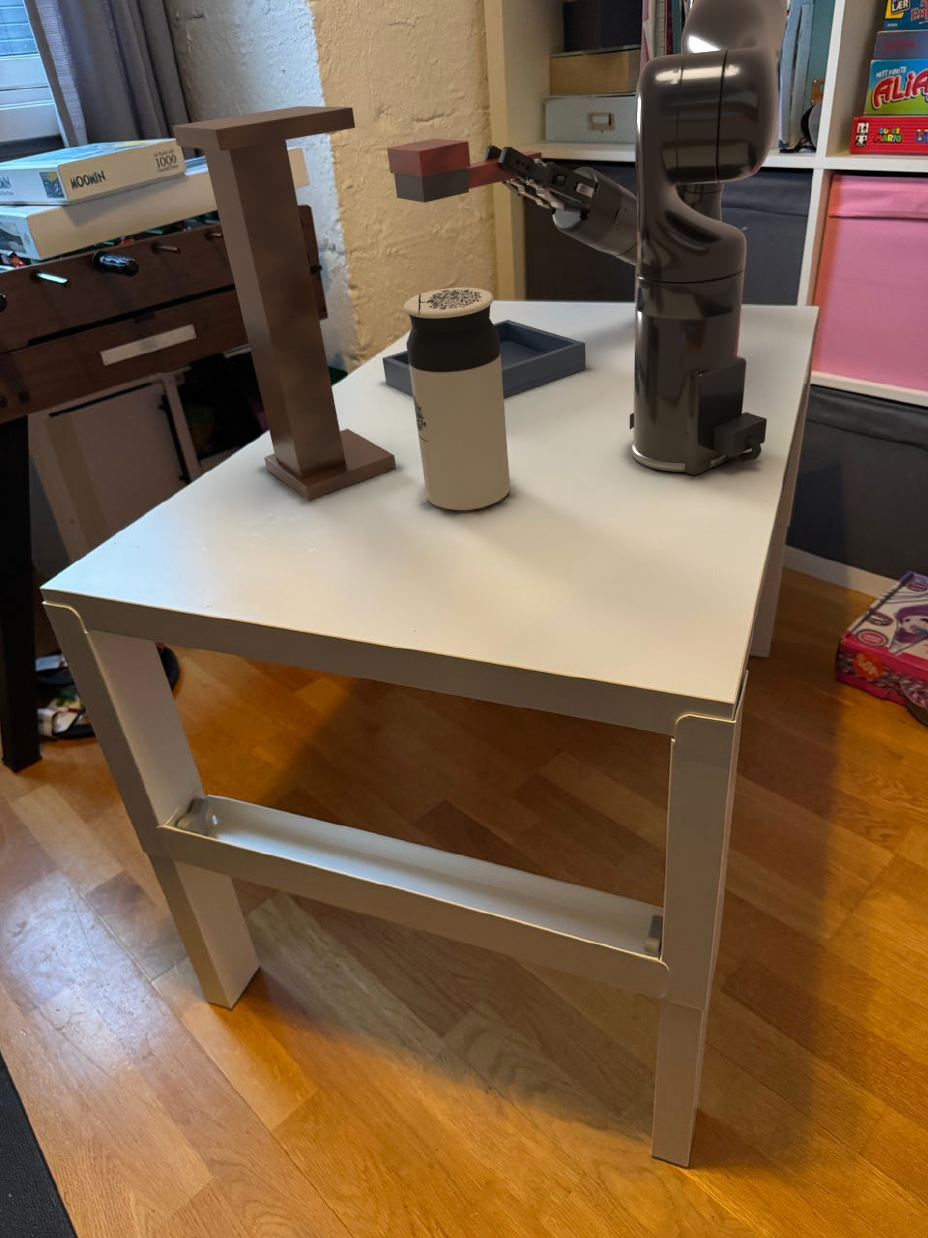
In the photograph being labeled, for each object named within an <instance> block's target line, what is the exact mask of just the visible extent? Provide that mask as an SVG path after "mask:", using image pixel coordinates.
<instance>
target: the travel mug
mask: <svg viewBox="0 0 928 1238" xmlns="http://www.w3.org/2000/svg"><path fill="white" fill-rule="evenodd" d="M493 302H494V295H493V294H492V293H491V292H490V291H488V290H486V289H483V288H478V287H477V288H476V287H448V288H441V289H435V290H430V291H426V292H423V293H419V294H417V295H415V296H413V297H411V298H409V299H408V300H407V301H406V302H405V303H404V305H403V306H404V307H403V308H404V311H405V312H406V313H407V315H408V316H409V320H410V324H411V328H410V332H409V335H408V337H407V339H406V340H407V341H406V344H405V345H406V351H407V353H408V361H409V368H410V376H411V383H412V391H413V396H412V399H413V405H414V406H413V407H414V413H415V419H416V420H415V422H416V427H417V428H416V429H417V435H418V442H419V443H418V445H419V451H420V458H421V465H422V475H423V480H424V481H423V482H424V487H425V488H424V489H425V495H426V498H427V500H428V501H429V502H430V503H431V504H433V505H434V506H437V507H439V508H443V509H446V510H452V511H471V510H472V511H473V510H477V509H482V508H483V509H484V508H486V507H488V506H490V505H494V504H495V503H497V502H499V501H502V500H503V499H504V498H505V497H506V496H507V495H508V493H509V492H510V490H511V481H510V469H509V468H510V467H509V455H508V454H509V453H508V439H507V426H506V413H505V398H504V397H503V383H502V370H501V356H500V342H499V333H498V331H497V330H496V328H495V326H494V325H493V324H494V323H493V321H492V320H491V307H492V306H491V305H492V304H493Z"/></svg>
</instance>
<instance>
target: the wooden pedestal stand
mask: <svg viewBox="0 0 928 1238" xmlns="http://www.w3.org/2000/svg"><path fill="white" fill-rule="evenodd" d="M355 122H356V121H355V116H354V109H353V107H352V106H316V105H315V106H311V105H310V106H307V105H297V106H291V107H284V108H278V109H272V110H266V111H260V112H253V113H246V114H241V115H233V116H227V117H221V118H215V119H214V118H213V119H209V120H202V121H196V122H189V123H182V124H176V125H172V131H173V136H174V139H175V143H176V146H177V147H184V148H192V149H200V150H203V153H204V159H205V162H206V163H205V164H206V166H207V171H208V175H209V180H210V183H211V188H212V193H213V196H214V202H215V205H216V211H217V213H218V218H219V223H220V227H221V231H222V235H223V239H224V243H225V248H226V252H227V257H228V261H229V265H230V269H231V274H232V277H233V282H234V286H235V290H236V295H237V299H238V303H239V307H240V312H241V317H242V320H243V321H242V322H243V325H244V329H245V333H246V337H247V341H248V346H249V349H250V351H249V352H250V354H251V359H252V364H253V368H254V371H255V376H256V381H257V384H258V388H259V392H260V398H261V401H262V405H263V411H264V414H265V419H266V423H267V427H268V432H269V436H270V440H271V445H272V447H273V452H274V453H271V454H269V455H265V456H264V463H265V467H266V471H268V472H270V473H271V474H272V475H274V476H275V477H276V478H277V479H279V480H280V481H282V482H283V483H285V484H286V485H287V486H289V487H290V488H291V489H293V490H294V491H295V492H297V493H298V494H299V495H301V496H302V497H303V498H304V499H305V500H307V501H312V500H314V499H317V498H320V497H323V496H325V495H328V494H331V493H334V492H337V491H340V490H342V489H344V488H347V487H350V486H353V485H356V484H358V483H361V482H364V481H366V480H369V479H371V478H374V477H377V476H379V475H380V476H381V475H382V474H385V473H387V472H390V471H393V470H395V469H397V464H396V458H395V455H394V454H393V453H391V452H390V451H388V450H387V449H384V448H383V447H381V446H379V445H377V444H375V443H374V442H372V441H370V440H368V439H367V438H365V437H363V436H362V435H360V434H358V433H356V432H354V431H352V430H351V429H349V428H345V429H342V430H340V424H339V418H338V414H337V407H336V403H335V402H336V401H335V398H334V392H333V391H334V390H333V386H332V380H331V376H330V371H329V364H328V360H327V359H328V358H327V354H326V349H325V348H326V347H325V343H324V338H323V332H322V327H321V322H320V316H319V311H318V306H317V300H316V295H315V289H314V284H313V280H312V274H311V268H310V262H309V257H308V252H307V248H306V241H305V237H304V236H305V235H304V231H303V225H302V219H301V214H300V208H299V204H298V198H297V192H296V187H295V183H294V182H295V181H294V177H293V172H292V171H293V170H292V166H291V161H290V156H289V151H288V150H289V149H288V144H287V141H288V140H293V139H300V138H305V137H311V136H317V135H322V134H328V133H334V132H340V131H346V130H351V129H355V128H356V123H355Z"/></svg>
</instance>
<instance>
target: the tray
mask: <svg viewBox="0 0 928 1238" xmlns="http://www.w3.org/2000/svg"><path fill="white" fill-rule="evenodd" d="M493 325H494V326H495V328H496V330H497V331H498V333H499V342H500V356H501V370H502V383H503V397H504V399H506V398H509V397H511V396H514V395H517V394H521V393H523V392H526V391H528V390H531V389H534V388H537V387H539V386H542V385H546V384H549V383H551V382H554V381H557V380H559V379H563V378H565V377H568V376H571V375H574V374H576V373H579V372H582V371H585V370H586V369H587V365H586V363H587V362H586V361H587V359H586V357H587V356H586V342H584V341H580V340H577V339H573V338H570V337H566V336H564V335H560V334H557V333H553V332H549V331H548V330H543V329H539V328H537V327H533V326H530V325H527V324H524V323H521V322H517V321H513V320H511V319H505V320H502V321H499V322H496V323H493ZM381 360H382V365H383V373H384V378H385V384H386V385H388V386H390V387H392V388H395V389H397V390H400V391H401V392H404V393H406V394H408V395H410V396H412V397H413V391H412V383H411V376H410V368H409V361H408V353H407V350H404V351H401V352H397V353H395V354H391V355H388V356H385V357H382V358H381Z"/></svg>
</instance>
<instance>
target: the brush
mask: <svg viewBox="0 0 928 1238" xmlns="http://www.w3.org/2000/svg"><path fill="white" fill-rule="evenodd" d="M469 143H470V142H469V141H468V140H458V139H457V140H456V139H444V138H429V139H424V140H419V141H414V142H409V143H405V144H399V145H394V146H389V147H387V148H386V152H387V159H388V165H389V166H388V167H389V173H390V174H393V176H394V178H393V179H394V184H395V185H394V186H395V192H396V198H397V199H402V200H407V201H412V202H420V203H424V204H425V203H429V202H430V203H431V202H434V201H438V200H444V199H446V198H451V197H456V196H460V195H464V194H468V193H470V190H472V189H475V188H479V187H484V186H488V185H493V184H496V183H501V181H506V180H510V179H514V178H518V177H516V176H514V175H512V174H510V173H509V172H507V171H505V170H503V169H501V168H500V167H499V159H500V157H499V158H494V159H490V160H485V161H483V160H480V161H476V162H471V157H470V146H469ZM521 153H522V154H524V155H526V156H528V157H529V158H531V159H532V161H533V159H540V160H541V161H542V162H543V152H542V151H533V150H527V151H526V150H525V151H523V152H521Z"/></svg>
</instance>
